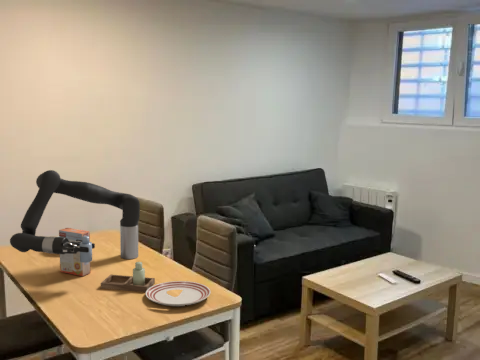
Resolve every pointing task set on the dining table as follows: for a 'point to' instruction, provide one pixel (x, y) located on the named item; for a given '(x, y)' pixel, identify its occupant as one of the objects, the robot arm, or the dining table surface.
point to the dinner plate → (187, 297)
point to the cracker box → (72, 261)
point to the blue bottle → (86, 256)
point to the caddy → (126, 283)
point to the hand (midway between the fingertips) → (91, 247)
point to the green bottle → (138, 274)
